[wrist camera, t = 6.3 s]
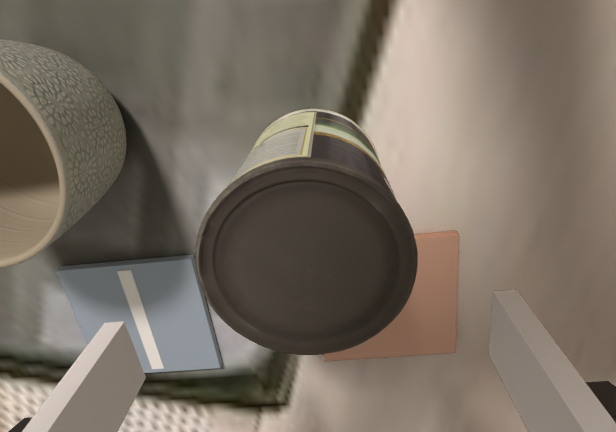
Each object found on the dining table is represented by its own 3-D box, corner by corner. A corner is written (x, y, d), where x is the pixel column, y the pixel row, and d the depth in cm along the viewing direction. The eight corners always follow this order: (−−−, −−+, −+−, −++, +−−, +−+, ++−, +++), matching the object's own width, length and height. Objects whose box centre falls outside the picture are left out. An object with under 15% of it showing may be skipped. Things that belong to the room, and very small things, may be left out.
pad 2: (309, 243, 34) (309, 248, 33) (456, 230, 33) (459, 235, 32) (324, 354, 39) (324, 361, 38) (452, 346, 38) (455, 352, 37)
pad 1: (61, 266, 36) (55, 271, 35) (193, 254, 35) (190, 259, 34) (104, 369, 41) (100, 376, 40) (222, 361, 40) (219, 368, 39)
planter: (149, 51, 28) (55, 59, 19) (148, 211, 33) (73, 285, 24) (-30, 18, 28) (-225, 9, 18) (-5, 185, 33) (-146, 250, 23)
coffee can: (387, 109, 29) (436, 167, 17) (372, 237, 34) (402, 362, 21) (245, 103, 30) (184, 155, 17) (248, 230, 34) (201, 350, 21)
